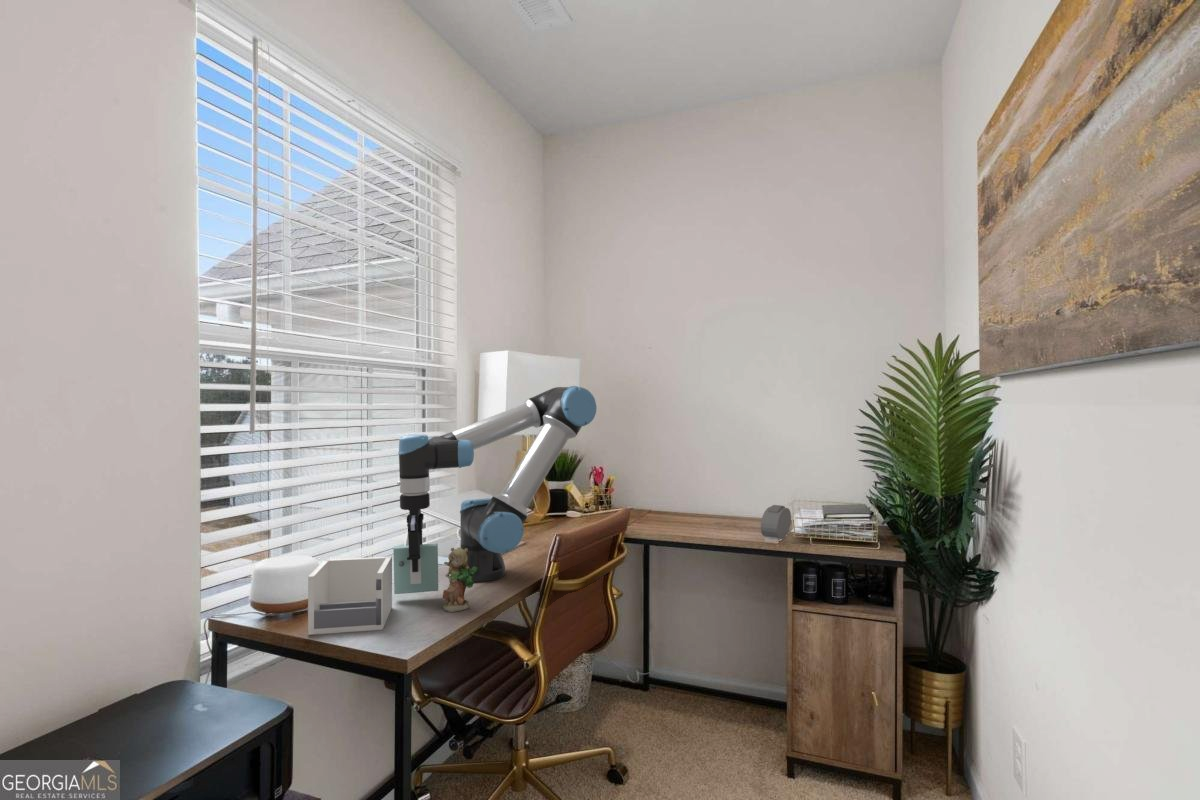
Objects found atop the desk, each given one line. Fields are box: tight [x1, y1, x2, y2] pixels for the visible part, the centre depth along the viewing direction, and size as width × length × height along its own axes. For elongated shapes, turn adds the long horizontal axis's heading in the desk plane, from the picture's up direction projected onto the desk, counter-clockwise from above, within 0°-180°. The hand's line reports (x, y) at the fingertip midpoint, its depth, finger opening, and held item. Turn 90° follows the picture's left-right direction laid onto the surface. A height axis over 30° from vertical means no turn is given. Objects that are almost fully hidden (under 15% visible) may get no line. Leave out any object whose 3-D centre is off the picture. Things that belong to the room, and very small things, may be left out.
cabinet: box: [307, 555, 393, 636], centre depth 143 cm, size 16×15×13 cm
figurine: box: [442, 547, 478, 613], centre depth 152 cm, size 9×8×15 cm
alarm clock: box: [759, 504, 792, 542], centre depth 227 cm, size 23×6×13 cm, turn 150°
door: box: [392, 543, 440, 595], centre depth 157 cm, size 11×4×12 cm, turn 101°
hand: (416, 581), depth 158 cm, fingers closed on door, 2 cm apart
